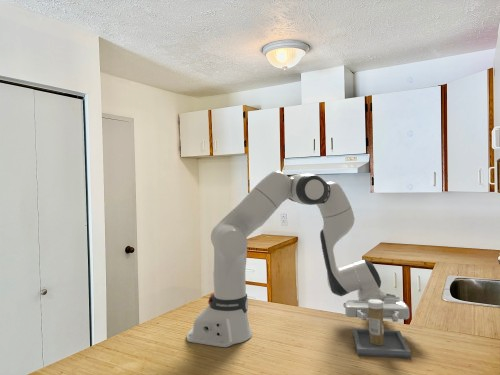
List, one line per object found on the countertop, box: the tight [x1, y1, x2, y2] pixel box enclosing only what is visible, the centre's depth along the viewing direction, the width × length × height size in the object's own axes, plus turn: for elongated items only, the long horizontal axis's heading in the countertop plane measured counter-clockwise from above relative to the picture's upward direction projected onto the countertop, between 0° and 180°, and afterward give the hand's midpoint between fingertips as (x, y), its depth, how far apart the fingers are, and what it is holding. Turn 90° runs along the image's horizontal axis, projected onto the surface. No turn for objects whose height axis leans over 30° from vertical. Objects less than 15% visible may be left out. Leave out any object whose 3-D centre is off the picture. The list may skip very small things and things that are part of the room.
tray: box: [352, 328, 412, 359], centre depth 117 cm, size 15×15×2 cm
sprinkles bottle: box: [368, 299, 385, 345], centre depth 117 cm, size 5×5×13 cm
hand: (379, 318), depth 116 cm, fingers open, 8 cm apart
